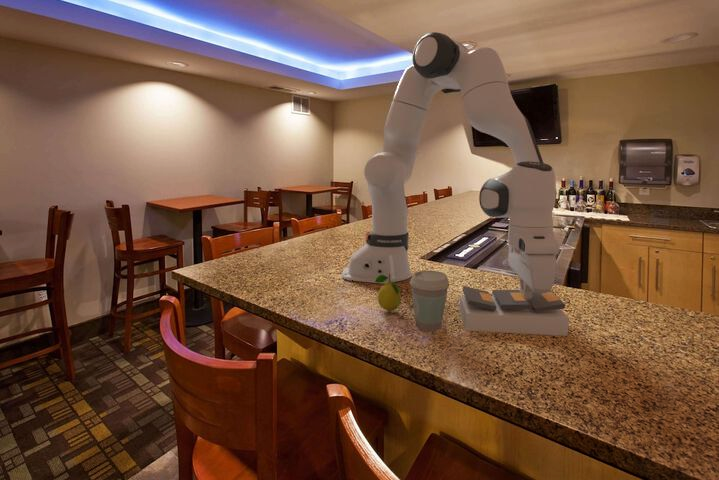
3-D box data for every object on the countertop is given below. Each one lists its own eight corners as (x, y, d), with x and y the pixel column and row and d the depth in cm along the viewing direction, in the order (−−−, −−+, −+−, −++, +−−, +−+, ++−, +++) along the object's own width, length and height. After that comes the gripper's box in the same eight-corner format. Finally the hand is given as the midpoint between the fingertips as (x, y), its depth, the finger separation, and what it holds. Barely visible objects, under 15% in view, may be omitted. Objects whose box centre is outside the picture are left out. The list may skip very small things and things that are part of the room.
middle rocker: (501, 309, 80) (501, 304, 80) (492, 293, 89) (492, 289, 89) (530, 308, 79) (530, 304, 79) (518, 293, 88) (518, 289, 88)
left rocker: (467, 304, 81) (469, 299, 81) (462, 289, 90) (463, 285, 89) (495, 310, 80) (496, 306, 80) (487, 295, 89) (488, 291, 89)
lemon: (375, 307, 94) (374, 269, 92) (397, 306, 95) (398, 268, 92) (378, 318, 88) (378, 278, 85) (402, 316, 88) (403, 277, 86)
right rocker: (535, 312, 79) (534, 307, 79) (523, 296, 88) (522, 292, 88) (565, 308, 78) (564, 303, 78) (549, 292, 87) (549, 288, 87)
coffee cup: (419, 314, 89) (420, 267, 87) (453, 323, 84) (455, 273, 82) (402, 328, 82) (403, 277, 80) (438, 338, 78) (440, 284, 75)
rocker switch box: (465, 330, 81) (466, 313, 80) (459, 310, 91) (460, 295, 91) (567, 335, 78) (569, 318, 77) (548, 314, 88) (550, 298, 88)
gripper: (503, 228, 91) (500, 282, 94) (528, 247, 71) (524, 314, 74) (529, 228, 90) (526, 282, 93) (563, 247, 70) (558, 315, 73)
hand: (525, 296), depth 83 cm, fingers closed, pressing on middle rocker
